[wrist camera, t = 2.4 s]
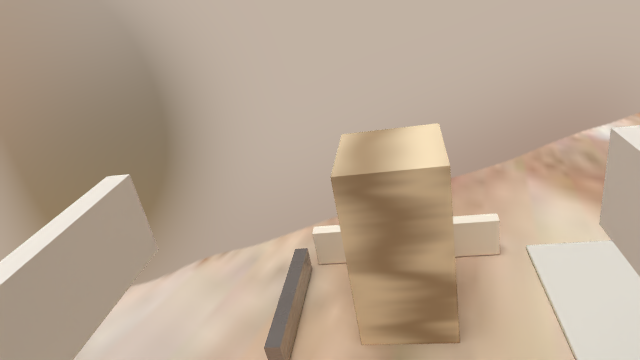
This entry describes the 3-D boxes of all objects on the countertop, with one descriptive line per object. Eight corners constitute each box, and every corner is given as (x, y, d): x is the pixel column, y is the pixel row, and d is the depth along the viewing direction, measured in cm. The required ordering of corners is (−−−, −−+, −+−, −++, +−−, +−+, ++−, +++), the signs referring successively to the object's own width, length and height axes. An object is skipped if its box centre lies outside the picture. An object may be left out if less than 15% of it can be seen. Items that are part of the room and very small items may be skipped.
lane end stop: (312, 268, 36) (307, 248, 36) (287, 370, 28) (280, 347, 27) (300, 269, 37) (295, 249, 36) (271, 371, 28) (264, 347, 27)
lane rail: (496, 246, 35) (496, 213, 34) (499, 254, 34) (499, 220, 33) (320, 256, 38) (314, 226, 36) (319, 264, 37) (312, 233, 35)
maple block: (448, 278, 33) (438, 123, 27) (459, 342, 27) (450, 165, 22) (366, 282, 34) (341, 134, 29) (361, 344, 29) (330, 177, 23)
